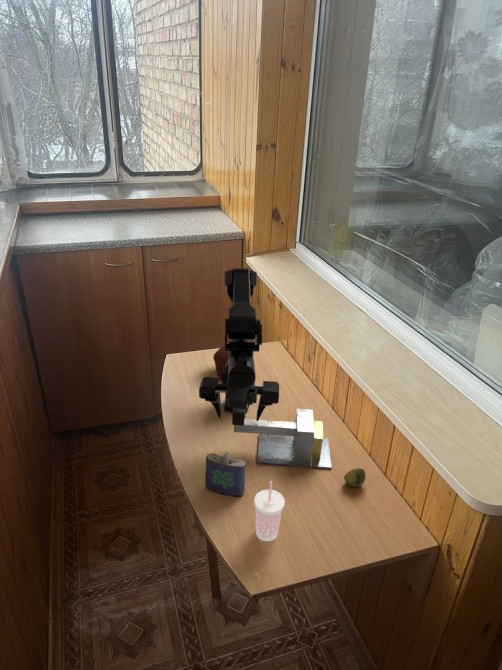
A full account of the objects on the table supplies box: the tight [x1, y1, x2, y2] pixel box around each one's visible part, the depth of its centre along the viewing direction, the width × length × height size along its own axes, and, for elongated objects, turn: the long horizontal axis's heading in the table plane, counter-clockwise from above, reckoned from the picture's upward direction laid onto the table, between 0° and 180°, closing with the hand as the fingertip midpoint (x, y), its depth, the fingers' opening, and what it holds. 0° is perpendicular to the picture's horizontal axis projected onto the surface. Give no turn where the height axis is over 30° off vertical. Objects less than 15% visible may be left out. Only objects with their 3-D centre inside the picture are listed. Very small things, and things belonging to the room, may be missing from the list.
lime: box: [343, 467, 367, 488], centre depth 119 cm, size 4×5×5 cm
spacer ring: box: [312, 420, 324, 461], centre depth 127 cm, size 2×7×7 cm, turn 173°
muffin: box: [213, 344, 229, 382], centre depth 158 cm, size 12×11×10 cm
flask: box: [204, 452, 247, 498], centre depth 114 cm, size 9×3×11 cm, turn 74°
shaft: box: [231, 408, 297, 436], centre depth 125 cm, size 18×3×6 cm, turn 87°
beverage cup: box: [253, 480, 286, 542], centre depth 103 cm, size 6×6×14 cm
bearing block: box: [256, 408, 332, 470], centre depth 127 cm, size 18×11×10 cm, turn 87°
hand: (238, 418), depth 125 cm, fingers open, 9 cm apart
